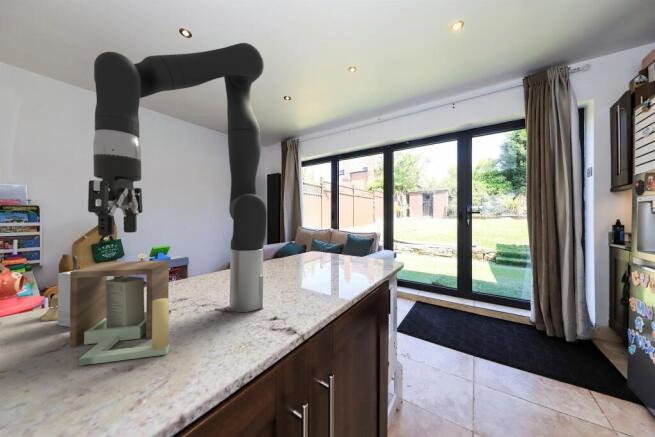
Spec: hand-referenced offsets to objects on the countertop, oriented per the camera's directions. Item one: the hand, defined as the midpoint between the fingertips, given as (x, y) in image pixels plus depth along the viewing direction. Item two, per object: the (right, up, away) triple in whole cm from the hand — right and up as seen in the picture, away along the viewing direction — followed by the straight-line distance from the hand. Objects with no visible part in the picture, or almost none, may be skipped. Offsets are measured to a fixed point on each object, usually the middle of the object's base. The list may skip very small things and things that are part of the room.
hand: (119, 233), depth 50 cm
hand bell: (-26, -23, +13) cm, 37 cm away
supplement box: (-16, -23, +9) cm, 30 cm away
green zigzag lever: (+2, -23, +1) cm, 23 cm away
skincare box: (-2, -23, +4) cm, 23 cm away
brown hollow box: (-2, -23, +4) cm, 23 cm away
